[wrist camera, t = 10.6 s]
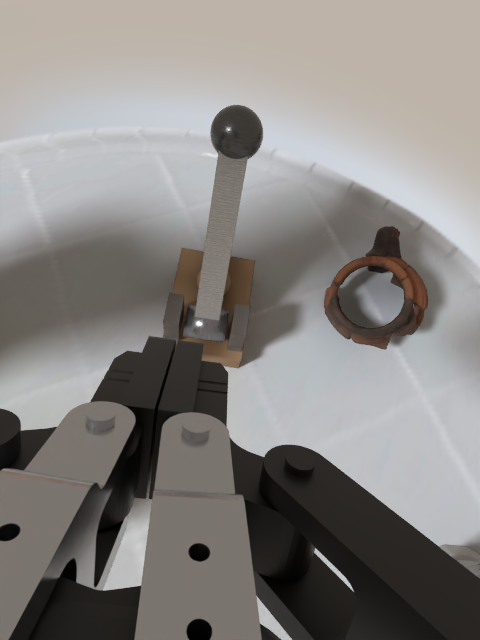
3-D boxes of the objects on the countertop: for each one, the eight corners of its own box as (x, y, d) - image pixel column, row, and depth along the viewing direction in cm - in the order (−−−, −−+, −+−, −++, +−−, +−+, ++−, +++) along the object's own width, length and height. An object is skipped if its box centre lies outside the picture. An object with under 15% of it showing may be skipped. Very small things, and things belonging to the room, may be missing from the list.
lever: (179, 345, 37) (212, 101, 29) (185, 324, 40) (216, 99, 32) (223, 352, 38) (268, 112, 29) (225, 330, 41) (267, 109, 32)
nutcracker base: (161, 355, 41) (158, 329, 36) (181, 261, 45) (182, 223, 40) (238, 368, 42) (247, 344, 36) (251, 273, 46) (261, 237, 40)
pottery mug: (426, 356, 45) (427, 347, 38) (330, 352, 49) (313, 343, 41) (428, 239, 47) (430, 208, 39) (335, 243, 50) (320, 215, 43)
